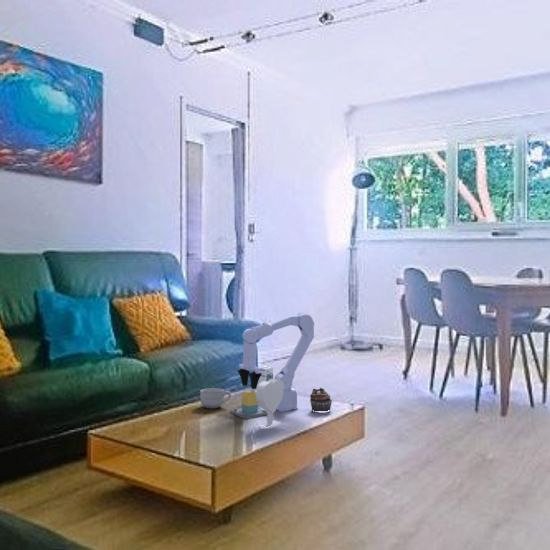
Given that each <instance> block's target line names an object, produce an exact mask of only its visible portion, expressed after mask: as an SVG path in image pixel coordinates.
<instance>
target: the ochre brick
mask: <svg viewBox="0 0 550 550" xmlns="http://www.w3.org/2000/svg"><path fill="white" fill-rule="evenodd" d="M242 404H243V405H246V406H252V405H258V406H259V404H258V402H257V399H256V391H253V390H247V391H244V392H241V405H242Z"/></svg>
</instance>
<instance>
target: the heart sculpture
mask: <svg viewBox="0 0 550 550" xmlns="http://www.w3.org/2000/svg"><path fill="white" fill-rule="evenodd" d="M255 390H256V391H255V393H256V399H257V402H258V407H260V409H262V410H265V411H266V412H267V415H266V416H267V417H266V420H267V421H266V423H264V424H261V425H260V426H266V427H268V426H271V425H273V424H275V423H277V422H276V421H277V420H274V413H275V411H277V410H276V409H277V407H278V406H279V404H280V402H281V400H282V397H283V393H284V382H283V381H282V380H276V379H275V378H273V379H269V380H268V382H267V381H263V382H261V383H260V384H259V385H258V386H257V388H256V389H255Z"/></svg>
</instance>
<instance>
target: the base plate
mask: <svg viewBox="0 0 550 550" xmlns="http://www.w3.org/2000/svg"><path fill="white" fill-rule="evenodd" d="M230 414H232V415H235V416H238V417H240V418H242V419H244V420H248V419H252V418H253V419H254V418H257V417H258V418H260V417H264V416H263V415H266V416H267V412H266V411H265V410H264V409H262V408H261V407H260V408H259V404H258V405H252V406H246V405H243V404H242V403H241V407H240V408H233V409H230ZM259 416H260V417H259Z"/></svg>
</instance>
